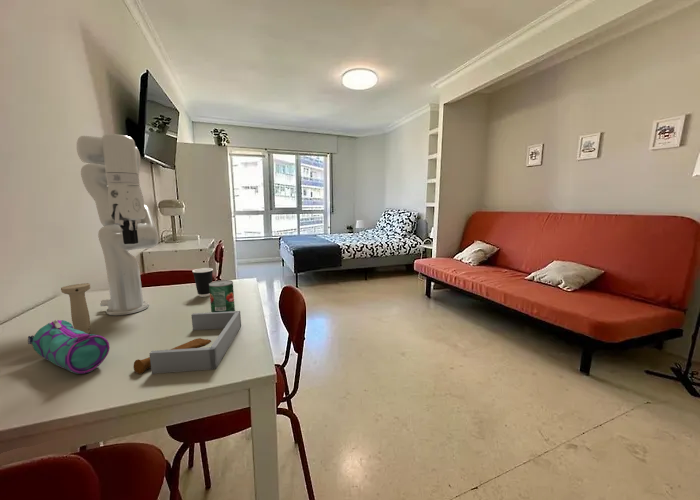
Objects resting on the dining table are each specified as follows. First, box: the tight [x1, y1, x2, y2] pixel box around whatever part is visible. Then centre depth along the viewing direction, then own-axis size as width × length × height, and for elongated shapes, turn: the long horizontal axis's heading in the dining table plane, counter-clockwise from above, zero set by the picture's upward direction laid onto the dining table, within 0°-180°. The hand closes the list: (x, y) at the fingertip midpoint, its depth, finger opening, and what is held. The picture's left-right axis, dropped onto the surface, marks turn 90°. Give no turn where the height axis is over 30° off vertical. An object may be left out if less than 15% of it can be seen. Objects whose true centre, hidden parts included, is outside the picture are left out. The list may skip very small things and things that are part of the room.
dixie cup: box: [192, 267, 214, 298], centre depth 129 cm, size 8×8×11 cm
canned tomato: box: [209, 279, 236, 312], centre depth 108 cm, size 8×8×11 cm
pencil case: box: [27, 319, 110, 375], centre depth 75 cm, size 21×9×10 cm, turn 62°
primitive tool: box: [133, 337, 212, 375], centre depth 78 cm, size 19×6×4 cm, turn 158°
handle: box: [60, 282, 91, 334], centre depth 90 cm, size 5×6×15 cm
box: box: [149, 310, 242, 374], centre depth 83 cm, size 14×25×5 cm, turn 7°
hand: (131, 243), depth 90 cm, fingers closed
